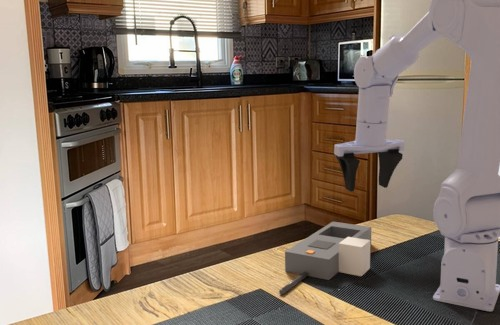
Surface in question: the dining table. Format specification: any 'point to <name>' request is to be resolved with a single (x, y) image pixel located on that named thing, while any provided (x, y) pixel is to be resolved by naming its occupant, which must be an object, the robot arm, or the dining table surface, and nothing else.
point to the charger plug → (354, 256)
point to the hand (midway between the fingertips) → (366, 188)
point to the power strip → (321, 252)
